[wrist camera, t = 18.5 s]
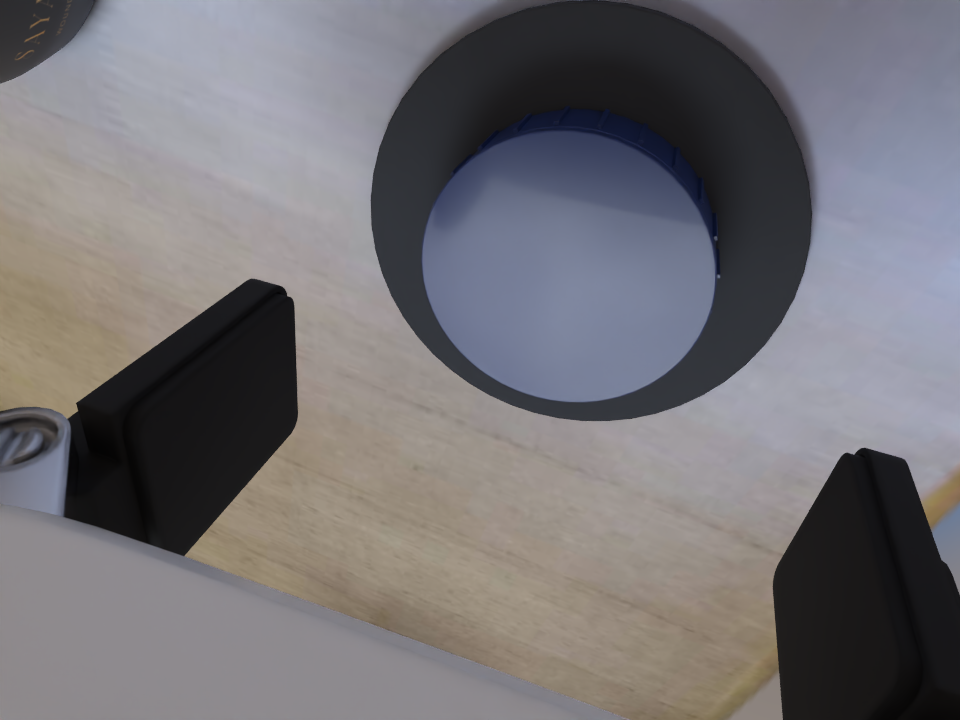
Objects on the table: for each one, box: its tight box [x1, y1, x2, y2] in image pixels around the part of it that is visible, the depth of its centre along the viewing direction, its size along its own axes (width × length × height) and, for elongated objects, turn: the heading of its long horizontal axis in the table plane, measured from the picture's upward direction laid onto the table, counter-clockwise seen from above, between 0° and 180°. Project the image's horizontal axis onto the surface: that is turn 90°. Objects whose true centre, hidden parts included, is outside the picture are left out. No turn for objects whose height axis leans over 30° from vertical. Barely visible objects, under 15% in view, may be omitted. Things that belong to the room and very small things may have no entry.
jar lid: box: [421, 106, 720, 402], centre depth 16 cm, size 7×7×2 cm
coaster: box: [371, 0, 812, 421], centre depth 17 cm, size 11×11×1 cm
